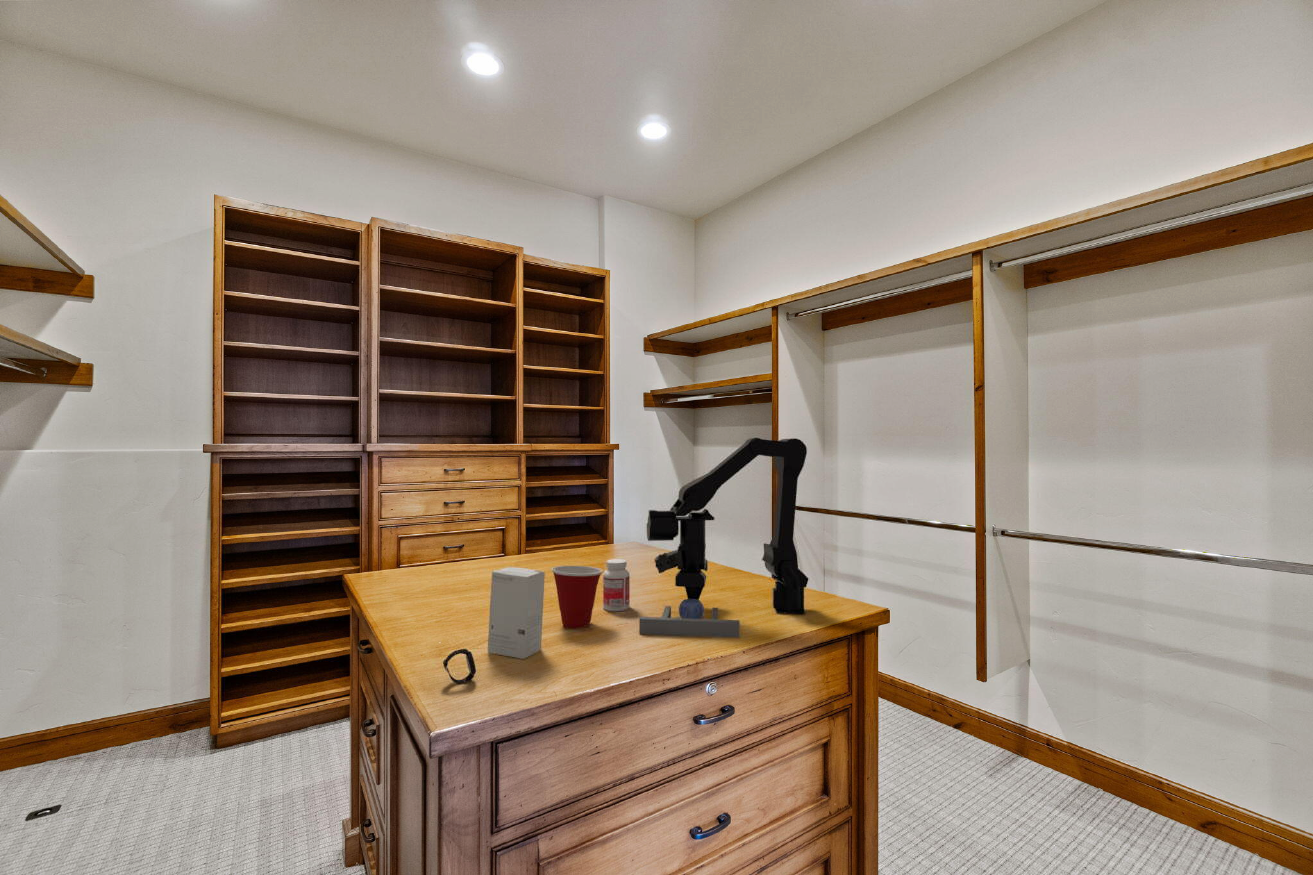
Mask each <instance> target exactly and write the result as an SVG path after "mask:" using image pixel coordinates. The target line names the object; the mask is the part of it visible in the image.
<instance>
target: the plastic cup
mask: <svg viewBox="0 0 1313 875" xmlns="http://www.w3.org/2000/svg"><path fill="white" fill-rule="evenodd" d="M551 571H552V573H553V576H554V582H555V586H556V592H557V599H558V601H557V602H558V606H559V612H560V616H561V623H562V626H563V627H564V628H566V629H575V630H576V629H583V628H587V627H588V626H590V625H591V624H590V623H591V621H592V615H593V610H594V606H595V600H596V593H597V589H598V584H599V580H600V578H601V575H602V573H604V570H603V569H601V568H599V567H594V566H588V565H585V566H584V565H560V566H554V567H551Z"/></svg>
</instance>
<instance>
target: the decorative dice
mask: <svg viewBox="0 0 1313 875" xmlns="http://www.w3.org/2000/svg"><path fill="white" fill-rule="evenodd" d="M704 613H705V607H704V603H703V602H701V600H700V599H699V600H697V599H688V598H686V599H682V601H681V602H680V604H679V606H678V615H679V618H690V619H703V617H704Z"/></svg>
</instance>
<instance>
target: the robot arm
mask: <svg viewBox="0 0 1313 875" xmlns="http://www.w3.org/2000/svg"><path fill="white" fill-rule="evenodd" d="M807 452H808V449H807V445H806V444H805V443H804V442H803V440H801V439H798V438H781V439H780V440H773V439H763V438H759V437H750V438H748V439H747V440H745V442H744V443H743V444H742V445H741V446H739V447H738V448H737V449H735V451H733V452H732V453H731V454H729V455H728V456H727V457H726V458H725V459H724V460H722V461H721V462H720V463H718V464H717V465H716V466H714V468H713V469H711V470H710V471H708V473H706V474H703V475H702V476H700V477H697V478H695V479H693V480H692V481H689V482H688V483H686V484H685V485H682V486H681V488H680V489H679V491H678V497H677V500H676V501H675V502H674V503H673V505H672V506H671V508H670V509H669V510H656V509H649V510H648V516H647V523H646V538H647V542H652V541H653V542H655V541H656V542H657V541H658V542H660V541H662V542H664V541H667V542H668V541H674V539H675V538H677V536H679V544H678V546H677V549H675V550H672V551H669V552H663V553H660V554H658V555H657V556H656V557H655V559H654V563H655V568H656V569H657V571H658V573H659V574H662V573H665V571H668V570H671V569H674V568H677V570H679V571H678V572H677V573H676V574H675V577H674V578H675V581H674V586H675V587H679V588H680V587H681V588H682V587H683V588H685V592H686V599H697V600H700V596H701V594H702V592H703V590H704V588H705V587H706V581H707V580H706V579H707V575H706V574H705V572H707V571H708V567H709V564H708V563H709V562H708V561H709V560H707V559H706V548H707V547H706V544H707V543H706V521H714V520H716V519H715V517H714V515H712V514H711V513H710V511H709V510H708V509H707V508H705V507H706V506H707V505H708V504H709V502H711V500H712V499H713V497H715V495H716V493H718V492H717V491H718V490H719V489H720V488H721V487H722V486H723V485H724V484H725V483H727V482H728V481H729V480H730V479H732V477H734V476H735V475H736V474H737V473H739V472H740V471H741V470H742V469H743V468H745V467H746V466H747V465H749V463H751V462H752V461H753V460H755V459H756V458H757V457H758V456H762V457H763V456H764V457H771V458H773V463H774V468H775V471H776V475H777V481H776V482H777V483H776V497H775V510H774V521H773V533H772V534H773V535H772V538H771V540H770V542H769V543H766V542H764V543H763V556H762V558H761V561H763V563H764V567H765V569H766V570H767V571H768V572H769V573H770V574H771V576H772V578H773V581H774V587H772V608H773V609H774V610H775V612H776V614H785V615H786V614H788V615H789V614H791V615H806V614H807V613H806V609H805V588H807V585H808V582H809V577H808V576H807V575H806V574H804V572H803V571H802V570H801V569H800V568H799V561H798V560H799V559H798V552H797V550H796V544H795V541H794V535H795V534H794V533H795V532H794V531H795V519H796V508H797V507H796V505H797V494H798V493H797V492H798V478H799V477H800V474H801V472H802V471H803V468H804V466H805V463H806V462H805V461H806V458H807V454H808V453H807ZM701 510H702V511H701ZM700 511H701V512H700ZM704 571H705V572H704Z"/></svg>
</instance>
